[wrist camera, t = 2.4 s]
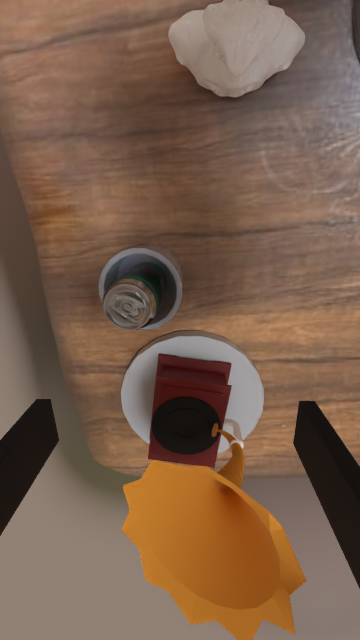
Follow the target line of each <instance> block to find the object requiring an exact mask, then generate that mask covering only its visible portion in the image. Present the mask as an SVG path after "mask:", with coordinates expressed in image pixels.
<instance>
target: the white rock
mask: <svg viewBox="0 0 360 640" xmlns="http://www.w3.org/2000/svg"><path fill="white" fill-rule="evenodd" d="M168 37H169V40H170V43H171V45H172V47H173V48H174V50H175V55H176V58H177V60H178V62H179V63H180V64H182V65H184V66H186V67H187V68H189V70H190V71H191V72H192V74H193V75H194V76H195V78H196V81H197V83H198V84H199V85H201V86H202V87H204V88H206V89H210V90H212V91H213V92H214V93H215V94H216V95H218V96H220V97H223V96H224V97H225V96H230V97H239V96H242V95H243V94H245V93H247V92H249V91H254V90H256V89H258V88H260V87H261V86H262V85H263V83H264V81H265V80H267V79H268V78H270V77H271V76H272V75H273V74H274V73H277V72H279V71H283V70H285V69H287V68H288V67H289V66H290V65H291V63H292V61H293V58H294V57H295V56H296V55H297V53H298V52H299V51H300V50H301V48H302V47H303V45H304V43H305V34H304V32H303V31H302V30H301V29H300V27H299V26H298V25H297V24H296V23H295V22H294V21H293V20H292V19H291V18H290V17H288V16H286V15H285V12H284V10H283V9H282V8H279V7H275V6H271V5H269V4H268V0H241V1H240V0H223V1H222V2H221V3H216V4H210V5H208V6H207V7H206V9H205V10H194V11H190V12H188V13H186V14H185V15H183V16H182V17H181V18H180V19H179V20H178V21H176V22H174V23H173V24H172V25H171V27H170V29H169V32H168Z"/></svg>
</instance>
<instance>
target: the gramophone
mask: <svg viewBox="0 0 360 640" xmlns="http://www.w3.org/2000/svg"><path fill="white" fill-rule="evenodd" d="M121 399H122V407H123V412H124V414H125V416H126V418H127V420H128V422H129V424H130V426H131V428H132V429H133V430H134V431H135V432H136V433H137V434H138V435H139V436H140V437H141V438H142V439H143V440H144V441H145V442H147V443H148V444H150V445H149V454H148V459H153V460H152V461H151V463H150V464H149V466H148V468H147V469H146V471H145V473H144V475H143V476H142V478H141V479H140V480H137V481H134V482H132V483H129V484H126V485H123V489H124V492H125V495H126V499H127V503H128V506H129V510H130V512H129V514H128V516H127V519H126V521H125V523H124V525H123V528H122V531H123V532H124V533H125V535H126V536H127V537H128V538H129V539H130V540H131V541H132V542H133V543H134V544H135V545H136V546H137V547H138V548H139V551H140V555H141V560H142V565H143V570H144V574H145V579H146V581H148V582H150V583H152V584H154V585H156V586H158V587H160V588H162V589H164V590H166V591H168V592H169V593H170V595H171V596H172V598H173V599H174V600H175V602H176V603H177V605H178V606H179V608H180V609H181V611H182V612H183V614H184V615H185V617H186V618H187V619H188V621H189V622H190V624H191V625H193V624H198V623H203V622H209V621H214V620H217V621H218V622H219V623H220V624H221V625H223V626H224V627H225V628H226V629H227V630H228V631H229V632H230V633H231V634H232V635H233V636H235V637H236V638H237V639H238V640H252V639H253V637H254V635H255V633H256V632H257V630H258V628H259V626H260V624H261V622H262V620H263V619H265V620H267V621H269V622H271V623H273V624H275V625H277V626H279V627H281V628H283V629H285V630H287V631H289V632H291V633H293V634H295V629H294V622H293V616H292V610H291V603H290V597H289V595H290V594H292V593H293V592H294V591H295V590H296V589H297V588H298V587H300V586H301V585H302V584H303V583H304V582H306V579H305V577H304V574H303V572H302V570H301V568H300V565H299V563H298V561H297V559H296V556H295V554H294V552H293V549H292V547H291V545H290V543H289V540H288V538H287V536H286V533H285V531H284V529H283V527H282V526H281V525H280V524H279V523H278V521H277V520H276V519H275V518H274V517H273V516H272V514H271V513H270V512H269V511H268V510H266V509H265V508H264V507H263V506H261V505H260V504H259V503H257V502H256V501H255V500H254V499H252V498H251V497H250V496H248V495H247V494H246V493H245V492H243V491H242V490H241V485H242V480H243V474H244V465H245V458H244V454H243V450H242V449H243V446H244V443H243V440H244V439H245V438H246V436H247V435H248V434H249V433H250V432H251V431H252V430H253V429H254V428H255V426H256V424H257V422H258V420H259V418H260V415H261V413H262V411H263V399H264V390H263V387H262V384H261V380H260V377H259V374H258V371H257V369H256V366H255V365H254V364H253V362H252V361H251V360H250V358H249V357H248V356H247V354H246V353H245V352H244V351H243V349H241V348H240V347H238V346H237V345H235V344H234V343H232V342H231V341H229V340H228V339H226V338H225V337H222V336H219V335H215V334H212V333H208V332H205V331H177V332H174V333H171V334H168V335H165V336H162V337H158V338H156V339H155V340H154V341H152V342H151V343H149V344H148V345H147V346H145V347H144V348H142V349H141V350H140V351H139V352H138V354H137V355H136V357H135V358H134V359H133V361H132V362H131V364H130V365H129V367H128V369H127V371H126V373H125V377H124V381H123V385H122V389H121ZM228 449H230V450H231V451H232V455H233V457H232V458H231V459H230V461H229V462H228V463H227V464H226V465H225V466H224V468H222V469H221V470H220V471H219V472H217V473H216V472H215V471H213V470H212V469H210V468H209V467H213V468H214V466H215V462H216V457H217V453H221V452H224V451H226V450H228ZM155 460H160V461H168V462H175V463H181V464H190V465H198V466H179V465H175V464H170V463H165V462H160V461H155Z"/></svg>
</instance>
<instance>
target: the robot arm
mask: <svg viewBox="0 0 360 640" xmlns="http://www.w3.org/2000/svg"><path fill="white" fill-rule="evenodd" d="M354 36H355V43H356V48H357V51H358V54H359V57H360V0H355V8H354ZM58 441H59V438H58V433H57V428H56V423H55V418H54V414H53V409H52V404H51V399H36V401H35V402H34V403H33V404H32V405H31V406H30V407H29V408H28V409H27V411H26V412H25V413H24V414H23V415H22V416H21V418H20V419H19V420H18V421H17V422H16V423H15V424H14V425H13V426H12V428H11V429H10V430H9V431H8V432H7V433H6V435H4V437H3V438H2V439H1V440H0V535H1V534H2V532H3V531H4V529H5V527H6V526H7V524H8V522H9V521H10V519H11V518H12V516H13V514H14V513H15V511H16V509H17V508H18V506H19V505H20V503H21V501H22V500H23V498H24V496H25V495H26V493H27V492H28V490H29V488H30V487H31V485H32V483H33V482H34V480H35V479H36V477H37V475H38V474H39V472H40V470H41V469H42V467H43V466H44V464H45V462H46V460H47V459H48V457H49V456H50V454H51V453H52V451H53V449H54V448H55V446H56V444H57V443H58ZM293 444H294V446H295V448H296V451H297V453H298V455H299V457H300V459H301V462H302V464H303V466H304V468H305V470H306V472H307V475H308V477H309V479H310V481H311V483H312V486H313V488H314V490H315V492H316V494H317V496H318V499H319V501H320V503H321V505H322V507H323V510H324V512H325V514H326V516H327V518H328V520H329V523H330V525H331V527H332V529H333V531H334V534H335V536H336V538H337V540H338V542H339V545H340V547H341V549H342V551H343V553H344V555H345V558H346V560H347V561H348V564H349V566H350V568H351V571H352V573H353V575H354V577H355V579H356V582H357V584H358V586H359V588H360V467H359V465H358V464H357V462H356V461H355V459H354V458H353V456H352V455H351V453H350V452H349V451H348V449H347V448H346V446H345V445H344V443H343V442H342V440H341V439H340V437H339V436H338V435H337V433H336V432H335V430H334V429H333V427H332V426H331V424H330V423H329V421H328V420H327V418H326V417H325V416H324V414H323V413H322V411H321V410H320V408H319V407H318V405H317V404H316V402H315V401H299V407H298V414H297V421H296V428H295V435H294V442H293Z"/></svg>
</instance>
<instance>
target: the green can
mask: <svg viewBox="0 0 360 640" xmlns="http://www.w3.org/2000/svg"><path fill="white" fill-rule="evenodd" d="M166 288H167V277H166V275H165V273H164V271H163V270H162V268H160V267H159V266H158V265H156V264H154V263H151V262H142V263H139V264H137V265H135V266H134V267H133V268H131V269H130V270H129V271H127V272H126V273H124V274H123V275H122V276H120V277H119V278H118V279H116V280H115V281H114V282H112V283H111V284H110V285H109V286H108V287H107V289H106V291H105V293H104V296H103V308H104V313H105V315H106V317H107V319H108V320H109V321H110V322H111V324H113V325H114V326H115V327H117V328H119V329H122V330H138V329H141V328H144V327H145V326H147V325H148V324H149V323H150V322H151V321H152V320H153V319H154V317H155V315H156V312H157V310H158V307H159V305H160V303H161V300H162V298H163V295H164V293H165V290H166Z"/></svg>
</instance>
